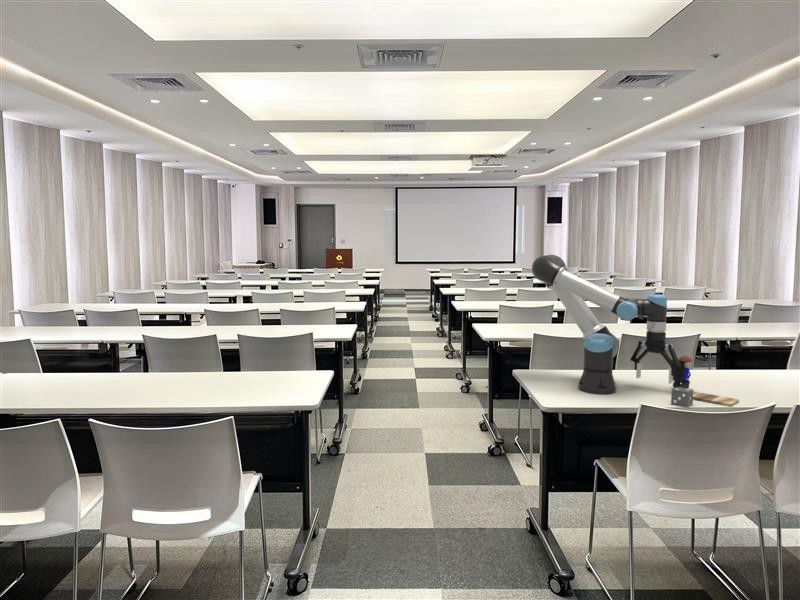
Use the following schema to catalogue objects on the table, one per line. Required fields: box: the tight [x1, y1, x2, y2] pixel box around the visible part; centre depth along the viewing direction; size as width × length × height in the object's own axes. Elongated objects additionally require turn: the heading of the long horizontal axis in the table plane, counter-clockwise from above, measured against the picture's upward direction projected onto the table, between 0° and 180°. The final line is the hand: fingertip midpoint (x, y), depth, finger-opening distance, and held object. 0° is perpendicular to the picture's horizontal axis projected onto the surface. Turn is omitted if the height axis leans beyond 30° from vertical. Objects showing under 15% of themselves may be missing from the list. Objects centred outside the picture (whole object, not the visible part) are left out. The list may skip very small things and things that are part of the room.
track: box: [693, 390, 740, 408], centre depth 234 cm, size 21×10×1 cm, turn 44°
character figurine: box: [671, 355, 693, 389], centre depth 247 cm, size 8×7×15 cm
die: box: [670, 387, 694, 408], centre depth 226 cm, size 6×6×6 cm
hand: (654, 380), depth 248 cm, fingers open, 13 cm apart
